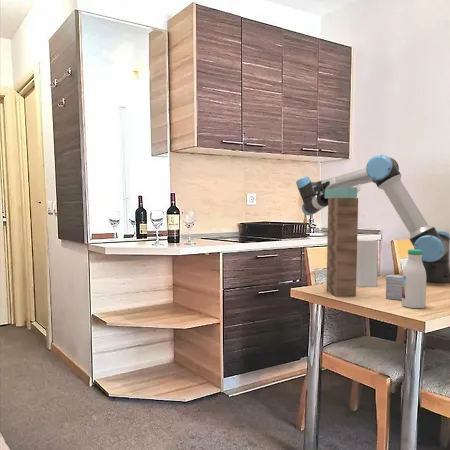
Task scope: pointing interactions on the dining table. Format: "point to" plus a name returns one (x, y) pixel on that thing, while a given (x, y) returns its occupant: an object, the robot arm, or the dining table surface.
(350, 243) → the walnut stand
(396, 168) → the robot arm
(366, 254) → the grey block
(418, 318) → the dining table surface
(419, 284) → the milk bottle
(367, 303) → the dining table surface
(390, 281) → the medicine box
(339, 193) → the teal bar
